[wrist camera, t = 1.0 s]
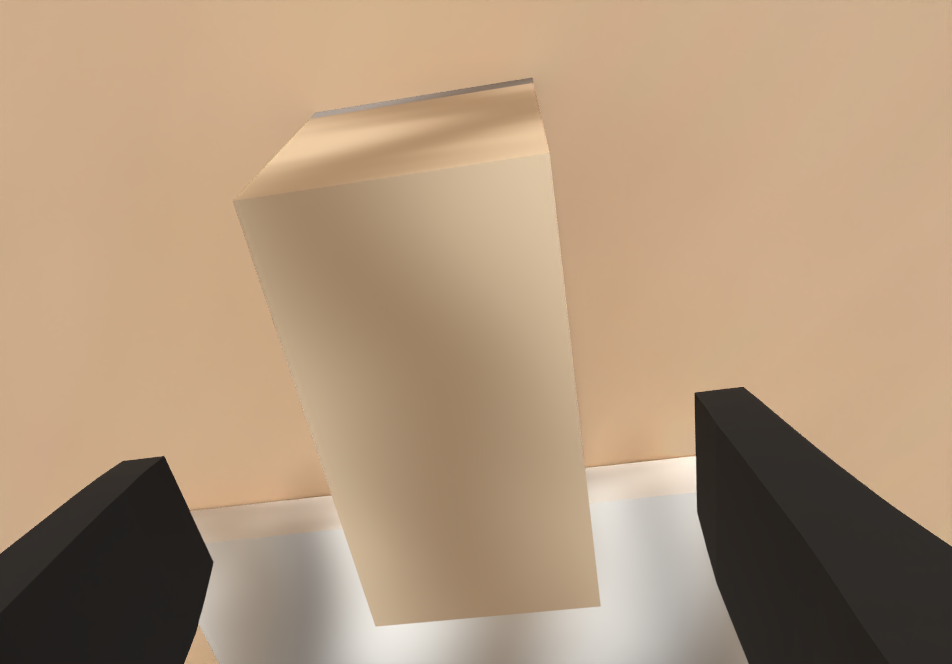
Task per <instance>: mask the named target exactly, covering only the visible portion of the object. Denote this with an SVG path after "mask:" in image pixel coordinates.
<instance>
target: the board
mask: <svg viewBox="0 0 952 664" xmlns="http://www.w3.org/2000/svg"><path fill="white" fill-rule="evenodd" d="M585 472H586V480H587V489H588V498H589V507H590V516H591V525H592V534H593V542H594V551H595V560H596V569H597V578H598V587H599V596H600V604H601V606H600V607H589V608H578V609H567V610H555V611H544V612H533V613H522V614H511V615H500V616H489V617H477V618H466V619H455V620H444V621H433V622H422V623H411V624H400V625H388V626H377V627H375V624H374V621H373V618H372V615H371V612H370V609H369V606H368V603H367V600H366V597H365V594H364V591H363V588H362V585H361V582H360V579H359V576H358V573H357V570H356V567H355V564H354V561H353V558H352V555H351V552H350V549H349V546H348V543H347V540H346V537H345V534H344V531H343V528H342V525H341V522H340V519H339V516H338V513H337V510H336V507H335V504H334V501H333V498H332V495H331V496H322V497H313V498H304V499H294V500H285V501H276V502H267V503H257V504H248V505H239V506H230V507H220V508H211V509H202V510H193V511H190V512H191V515H192V517H193V519H194V521H195V523H196V525H197V527H198V530H199V532H200V534H201V536H202V538H203V540H204V542H205V545H206V547H207V549H208V551H209V553H210V555H211V557H212V560H213V562H214V563H213V568H212V572H211V576H210V580H209V585H208V589H207V593H206V597H205V601H204V605H203V609H202V612H201V616H200V620H199V623H198V624H199V626H200V628H201V630H202V632H203V633H204V635H205V637H206V639H207V641H208V643H209V645H210V647H211V649H212V651H213V653H214V655H215V657H216V659H217V661H218V663H219V664H749V663H748V661H747V658H746V656H745V654H744V651H743V649H742V646H741V644H740V641H739V639H738V636H737V634H736V631H735V629H734V626H733V624H732V621H731V619H730V616H729V614H728V611H727V609H726V606H725V604H724V601H723V599H722V596H721V594H720V591H719V588H718V586H717V583H716V580H715V576H714V573H713V569H712V566H711V562H710V559H709V555H708V552H707V548H706V544H705V540H704V537H703V533H702V529H701V525H700V522H699V518H698V514H697V491H696V456H692V457H683V458H673V459H664V460H655V461H646V462H636V463H627V464H618V465H609V466H599V467H590V468H585Z"/></svg>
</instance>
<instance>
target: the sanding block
mask: <svg viewBox="0 0 952 664" xmlns="http://www.w3.org/2000/svg"><path fill="white" fill-rule="evenodd" d="M233 203H234V206H235V209H236V212H237V215H238V218H239V221H240V224H241V227H242V230H243V233H244V236H245V239H246V242H247V245H248V248H249V251H250V254H251V257H252V260H253V263H254V266H255V269H256V272H257V275H258V278H259V281H260V284H261V287H262V290H263V292H264V295H265V298H266V301H267V304H268V307H269V310H270V313H271V316H272V319H273V322H274V325H275V328H276V331H277V334H278V337H279V340H280V343H281V346H282V349H283V352H284V355H285V358H286V361H287V364H288V367H289V370H290V373H291V376H292V379H293V382H294V385H295V388H296V391H297V394H298V397H299V400H300V403H301V406H302V409H303V412H304V415H305V418H306V421H307V424H308V427H309V430H310V433H311V436H312V439H313V442H314V445H315V448H316V451H317V454H318V457H319V460H320V462H321V465H322V468H323V471H324V474H325V477H326V480H327V483H328V486H329V489H330V492H331V495H332V498H333V501H334V504H335V507H336V510H337V513H338V516H339V519H340V522H341V525H342V528H343V531H344V534H345V537H346V540H347V543H348V546H349V549H350V552H351V555H352V558H353V561H354V564H355V567H356V570H357V573H358V576H359V579H360V582H361V585H362V588H363V591H364V594H365V597H366V600H367V603H368V606H369V609H370V612H371V615H372V618H373V621H374V624H375V627H377V626H388V625H400V624H411V623H422V622H433V621H444V620H455V619H466V618H477V617H489V616H500V615H511V614H522V613H533V612H544V611H555V610H567V609H578V608H589V607H600V606H601V604H600V596H599V587H598V578H597V569H596V560H595V551H594V542H593V534H592V525H591V516H590V507H589V498H588V489H587V480H586V472H585V463H584V454H583V445H582V436H581V427H580V418H579V410H578V401H577V392H576V383H575V374H574V365H573V356H572V348H571V339H570V330H569V321H568V312H567V303H566V294H565V286H564V277H563V268H562V259H561V250H560V241H559V232H558V223H557V215H556V206H555V197H554V188H553V179H552V170H551V161H550V153H549V148H548V144H547V140H546V135H545V131H544V127H543V122H542V118H541V114H540V109H539V105H538V101H537V96H536V92H535V88H534V83H533V79H532V78H527V79H521V80H515V81H508V82H502V83H496V84H490V85H484V86H478V87H471V88H465V89H459V90H453V91H447V92H440V93H434V94H428V95H422V96H416V97H410V98H403V99H397V100H391V101H385V102H379V103H373V104H366V105H360V106H354V107H348V108H342V109H335V110H329V111H323V112H317V113H315V114H314V115H313V116H312V117H311V118H310V120H309V121H308V122H307V123H306V124H305V125H304V126H303V127H302V128H301V129H300V130H299V131H298V132H297V133H296V134H295V135H294V136H293V138H292V139H291V140H290V141H289V142H288V143H287V144H286V145H285V146H284V147H283V148H282V149H281V150H280V151H279V152H278V153H277V155H276V156H275V157H274V158H273V159H272V160H271V161H270V162H269V163H268V164H267V165H266V166H265V167H264V168H263V169H262V170H261V171H260V173H259V174H258V175H257V176H256V177H255V178H254V179H253V180H252V181H251V182H250V183H249V184H248V185H247V186H246V187H245V188H244V190H243V191H242V192H241V193H240V194H239V195H238V196H237V197H236V198H235V199H234V200H233Z"/></svg>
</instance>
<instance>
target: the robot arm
mask: <svg viewBox="0 0 952 664" xmlns="http://www.w3.org/2000/svg"><path fill="white" fill-rule="evenodd" d="M695 438H696V491H697V514H698V518H699V522H700V525H701V529H702V533H703V537H704V540H705V544H706V548H707V552H708V555H709V559H710V562H711V566H712V569H713V573H714V576H715V580H716V583H717V586H718V588H719V591H720V594H721V596H722V599H723V601H724V604H725V606H726V609H727V611H728V614H729V616H730V619H731V621H732V624H733V626H734V629H735V631H736V634H737V636H738V639H739V641H740V644H741V646H742V649H743V651H744V654H745V656H746V658H747V661H748V663H749V664H952V546H950V545H949V544H947V543H946V542H944V541H943V540H941V539H940V538H938V537H937V536H935V535H934V534H932V533H931V532H930V531H928V530H927V529H925V528H924V527H922V526H921V525H919V524H918V523H916V522H915V521H913V520H912V519H911V518H909V517H908V516H906V515H905V514H903V513H902V512H900V511H899V510H897V509H896V508H895V507H893V506H892V505H891V504H889V503H888V502H886V501H885V500H884V499H882V498H881V497H880V496H878V495H877V494H876V493H874V492H873V491H872V490H870V489H869V488H868V487H867V486H865V485H864V484H863V483H861V482H860V481H859V480H857V479H856V478H855V477H853V476H852V475H851V474H850V473H848V472H847V471H846V470H844V469H843V468H842V467H840V466H839V465H838V464H836V463H835V462H834V461H833V460H831V459H830V458H829V457H828V456H826V455H825V454H824V453H823V452H821V451H820V450H819V449H818V448H816V447H815V446H814V445H813V444H812V443H810V442H809V441H808V440H807V439H806V438H804V437H803V436H802V435H801V434H799V433H798V432H797V431H796V430H795V429H793V428H792V427H791V426H790V425H789V424H787V423H786V422H785V421H784V420H783V419H781V418H780V417H779V416H778V415H777V414H776V413H774V412H773V411H772V410H771V409H770V408H768V407H767V406H766V405H765V404H764V403H762V402H761V401H760V400H759V399H758V398H756V397H755V396H754V395H753V394H751V393H750V392H749V391H748V390H746V389H745V388H744V387H738V388H730V389H721V390H713V391H705V392H696V393H695ZM213 563H214V562H213V560H212V557H211V555H210V553H209V551H208V549H207V547H206V545H205V542H204V540H203V538H202V536H201V534H200V532H199V530H198V527H197V525H196V523H195V521H194V519H193V517H192V515H191V512H190V510H189V508H188V506H187V504H186V502H185V500H184V497H183V495H182V493H181V491H180V489H179V487H178V485H177V482H176V480H175V478H174V476H173V474H172V472H171V470H170V468H169V465H168V463H167V461H166V459H165V457H164V456H162V457H153V458H145V459H137V460H128V461H122V462H121V463H119V464H118V465H116V466H115V467H113V468H112V469H110V470H109V471H107V472H106V473H104V474H103V475H102V476H100V477H99V478H97V479H96V480H95V481H93V482H92V483H91V484H89V485H88V486H87V487H85V488H84V489H83V490H81V491H80V492H79V493H77V494H76V495H75V496H73V497H72V498H71V499H70V500H68V501H67V502H66V503H64V504H63V505H62V506H61V507H59V508H58V509H57V510H55V511H54V512H53V513H52V514H50V515H49V516H48V517H47V518H45V519H44V520H43V521H42V522H40V523H39V524H38V525H36V526H35V527H34V528H33V529H31V530H30V531H29V532H28V533H26V534H25V535H24V536H22V537H21V538H20V539H19V540H17V541H16V542H15V543H14V544H12V545H11V546H10V547H8V548H7V549H6V550H5V551H3V552H2V553H1V554H0V664H184V662H185V660H186V657H187V655H188V652H189V649H190V647H191V644H192V642H193V639H194V636H195V634H196V631H197V627H198V623H199V620H200V616H201V612H202V609H203V605H204V601H205V597H206V593H207V589H208V585H209V580H210V576H211V572H212V568H213Z"/></svg>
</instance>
